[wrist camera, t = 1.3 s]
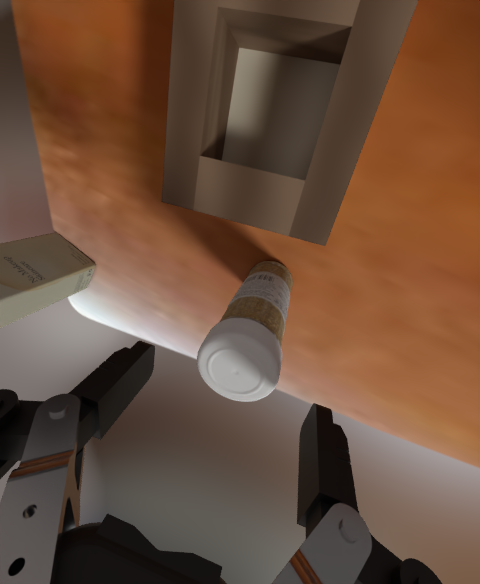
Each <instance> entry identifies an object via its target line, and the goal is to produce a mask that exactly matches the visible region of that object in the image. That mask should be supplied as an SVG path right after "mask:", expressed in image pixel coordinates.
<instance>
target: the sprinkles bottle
mask: <svg viewBox="0 0 480 584" xmlns="http://www.w3.org/2000/svg"><path fill="white" fill-rule="evenodd" d="M292 285H293V280H292V276H291V273H290V272H289V271H288V269H287V268H286V267H285V266H284V265H282V264H280V263H278V262H274V261H264V262H260V263H258V264H257V265H256V266H254V267H253V268H252V269H251V271H250V272H249V275H248V277H247V278H246V279H245V281H244V282H243V284H242V285H241V287H240V288H239V290H238V291H237V293H236V294H235V296H234V297H233V299H232V301H231V302H230V304H229V305H228V308H227V310H226V312H225V314H224V315H223V317H222V319H221V321H220V322H219V323H218V324H216V325H215V326H214V327H213V328H212V329H211V330H210V332H209V334H208V335H207V337H206V338H205V340H204V342H203V343H202V345H201V347H200V349H199V351H198V356H197V364H198V369H199V372H200V374H201V376H202V378H203V380H204V381H205V382H206V383H207V385H208V386H209V387H211V388H212V389H213V390H214V391H215V392H217V393H219V394H220V395H222V396H224V397H226V398H229V399H232V400H236V401H243V402H249V401H256V400H259V399H262V398H263V397H266V396H267V395H269V394H270V393H271V392H272V391H273V390H274V388H275V387H276V385H277V382H278V379H279V375H280V369H281V363H282V350H281V342H282V337H283V334H284V330H285V323H286V317H287V312H288V306H289V300H290V292H291V290H292Z"/></svg>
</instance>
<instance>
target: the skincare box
mask: <svg viewBox="0 0 480 584" xmlns="http://www.w3.org/2000/svg"><path fill="white" fill-rule="evenodd" d="M95 266H96V264H95V263H94V262H93V261H91V260H90V259H89V258H88V257H86V256H85V255H84V254H83V253H81V252H80V251H79V250H78V249H76V248H75V247H74V246H73V245H71V244H70V243H69V242H68V241H66V240H65V239H64V238H63V237H61V236H60V235H59V234H57V233H51V234H46V235H41V236H36V237H31V238H26V239H21V240H16V241H11V242H6V243H1V244H0V328H2V327H4V326H6V325H8V324H10V323H12V322H15V321H17V320H19V319H21V318H23V317H25V316H27V315H30V314H32V313H34V312H36V311H38V310H40V309H43V308H45V307H47V306H49V305H51V304H53V303H55V302H58V301H60V300H62V299H64V298H66V297H68V296H71V295H73V294H75V293H77V292H79V291H81V290H83V289H86V288H87V286H88V284H89V282H90V279H91V277H92V274H93V272H94V269H95Z"/></svg>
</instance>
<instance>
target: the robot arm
mask: <svg viewBox="0 0 480 584" xmlns="http://www.w3.org/2000/svg"><path fill="white" fill-rule="evenodd" d="M154 355H155V346H153V345H151V344H148V343H145V342H142V341H138V342H137V343H136V344H135V345H134V346H133V347H132V348H131V349H129V348H126V347H125V348H123V349H121V350H119V351H116V352H114V353H113V354H112V355H111V356H110V357H109V358H108V359H107V360H106V361H104V362H103V363H102V364H101V365H100V366H99V368H96V369H95V371H93V372H92V373H91V374H90V375H89V376H87V377H86V378H85V379H84V380H83V381H82V382H81V383H80V384H79V385H78V386H76V387H75V388H74V389H73V390H72V391H71V392H69V393H68V394H60V395H56V396H54V397H51V398H49V399H48V400H46V401H23V400H18V396H17V394H16V393H15V392H14V391H12V390H7V389H1V390H0V479H1V478H2V477H3V476H4V475H5V474H6V473H7V472H8V471H9V469H10V468H11V467H12V466H13V465H14V464H15V463H16V462H17V461H18V460H19V461H21V463H20V465H19V467H18V468H17V469H14V470H13V471H12V472H11V474H10V476H9V478H8V481H7V484H6V487H5V490H4V493H3V496H2V500H1V502H0V584H226V583H225V581H224V580H223V579H222V578H221V577H220V575H221V570H222V567H221V566H219V565H217V564H215V563H213V562H211V561H208V560H206V559H204V558H202V557H200V556H198V555H196V554H194V553H184V552H169V551H160V550H158V549H156V548H155V547H154V546H153V545H152V544H151V543H150V542H149V541H148V540H147V539H146V538H145V537H144V536H143V534H142V533H141V532H140V531H139V530H138V529H136V527H135V526H133V525H131V524H129V523H127V522H124V521H122V520H120V519H118V518H116V517H114V516H112V515H109V514H107V515H106V517H105V518H104V520H103V522H102V523H100V522H97V523H89V524H85V525H81V526H79V521H80V493H81V484H82V474H83V465H84V456H85V445H86V443H87V442H88V441H89V440H90V438H91V437H92V436H93V437H95V438H98V439H100V440H101V439H102V438H103V436H104V435H105V434H106V432H107V431H108V430H109V429H110V427H111V426H112V425H113V424H114V422H115V421H116V420H117V419H118V417H119V416H120V415H121V414H122V412H123V411H124V410H125V409H126V407H127V406H128V405H129V404H130V402H131V401H132V400H133V399H134V397H135V396H136V395H137V394H138V392H139V391H140V390H141V389H142V387H143V386H144V385H145V383H146V382H147V381H148V380H149V378H150V376H151V374H152V372H153V368H154ZM298 477H299V478H298V508H297V509H298V510H297V524H299V525H301V526H303V527H306V540H305V541H304V543H303V544H302V545H301V546H300V548H299V549H298V550H297V551H296V553H295V554H294V555H293V557H292V558H291V559H290V561H289V562H288V563H287V564H286V566H285V567H284V568H283V570H282V571H281V572H280V574H279V575H278V576H277V577H276V579H275V580H274V581H273V583H272V584H442V583H441V581H440V580H439V579H438V577H437V576H436V575H435V574H434V573H433V571H432V570H430V568H428V567H427V566H426V565H425V564H423V563H422V562H420V561H418V560H416V559H412V558H409V559H406V560H404V561H402V560H400V559H399V558H398V557H396V556H395V555H394V554H393V553H392V552H390V551H389V550H388V549H387V548H385V547H384V546H383V545H382V544H380V543H379V542H378V541H377V540H376V539H375V538H374V537H373V536H372V535H371V533H370V532H369V529H368V527H367V525H366V523H365V521H364V520H363V518H362V517H361V516H360V514H359V511H358V507H357V501H356V495H355V488H354V481H353V475H352V468H351V465H350V455H349V448H348V442H347V438H346V436H345V434H344V432H343V430H342V428H341V426H339V425H337V424H334V423H333V417H332V411H331V409H329V408H326V407H323V406H321V405H318V404H315V403H314V404H313V405H312V407H311V409H310V411H309V413H308V415H307V417H306V418H305V420H304V422H303V425H302V428H301V432H300V443H299V476H298Z"/></svg>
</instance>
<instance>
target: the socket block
mask: <svg viewBox="0 0 480 584" xmlns="http://www.w3.org/2000/svg"><path fill="white" fill-rule="evenodd" d="M417 2H418V0H174V13H173V29H172V45H171V61H170V77H169V93H168V110H167V126H166V142H165V158H164V174H163V190H162V202H164V203H168V204H172V205H175V206H179V207H183V208H186V209H190V210H194V211H198V212H201V213H205V214H209V215H212V216H216V217H220V218H223V219H227V220H231V221H235V222H238V223H242V224H246V225H249V226H253V227H257V228H260V229H264V230H268V231H271V232H275V233H279V234H283V235H286V236H290V237H294V238H297V239H301V240H305V241H308V242H312V243H316V244H319V245H323V246H325V245H326V243H327V240H328V237H329V235H330V232H331V229H332V227H333V224H334V222H335V219H336V216H337V214H338V211H339V208H340V206H341V203H342V200H343V198H344V195H345V192H346V190H347V187H348V185H349V182H350V179H351V177H352V174H353V171H354V169H355V166H356V163H357V161H358V158H359V156H360V153H361V150H362V148H363V145H364V142H365V140H366V137H367V134H368V132H369V129H370V126H371V124H372V121H373V119H374V116H375V113H376V111H377V108H378V105H379V103H380V100H381V97H382V95H383V92H384V89H385V87H386V84H387V82H388V79H389V76H390V74H391V71H392V68H393V66H394V63H395V60H396V58H397V55H398V52H399V50H400V47H401V45H402V42H403V39H404V37H405V34H406V31H407V29H408V26H409V23H410V21H411V18H412V16H413V13H414V10H415V8H416V5H417Z"/></svg>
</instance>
